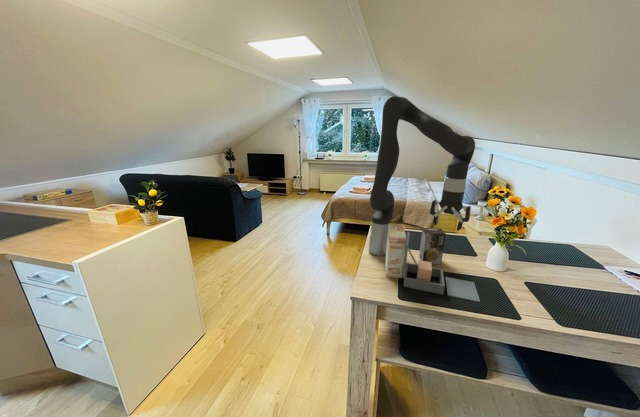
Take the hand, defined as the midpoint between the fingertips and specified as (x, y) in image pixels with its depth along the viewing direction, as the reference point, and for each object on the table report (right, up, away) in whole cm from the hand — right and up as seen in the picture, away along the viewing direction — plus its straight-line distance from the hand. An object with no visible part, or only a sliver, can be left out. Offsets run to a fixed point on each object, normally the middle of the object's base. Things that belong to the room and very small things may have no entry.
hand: (446, 227), depth 102 cm
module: (-8, -24, +4) cm, 25 cm away
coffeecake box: (-18, -21, +14) cm, 31 cm away
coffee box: (+2, -18, +21) cm, 28 cm away
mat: (+5, -25, -1) cm, 26 cm away
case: (-8, -24, +4) cm, 25 cm away
